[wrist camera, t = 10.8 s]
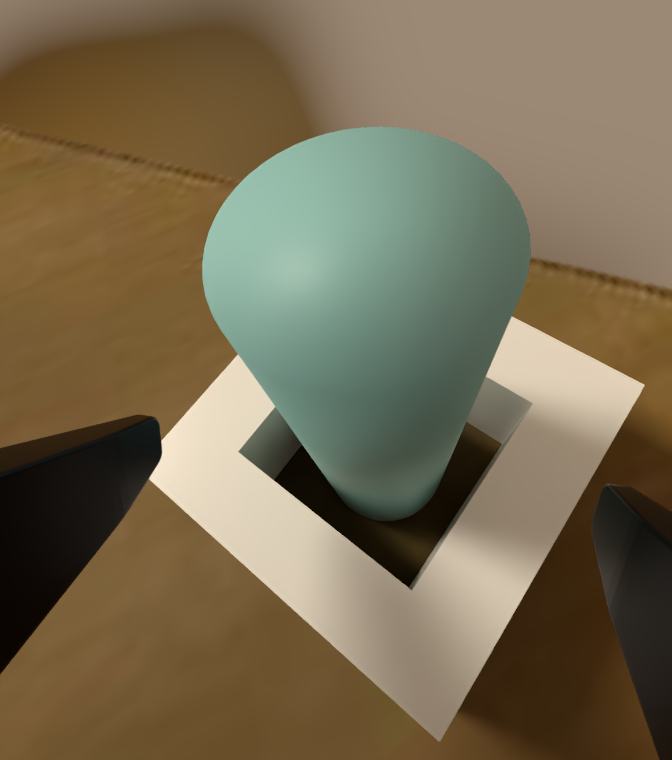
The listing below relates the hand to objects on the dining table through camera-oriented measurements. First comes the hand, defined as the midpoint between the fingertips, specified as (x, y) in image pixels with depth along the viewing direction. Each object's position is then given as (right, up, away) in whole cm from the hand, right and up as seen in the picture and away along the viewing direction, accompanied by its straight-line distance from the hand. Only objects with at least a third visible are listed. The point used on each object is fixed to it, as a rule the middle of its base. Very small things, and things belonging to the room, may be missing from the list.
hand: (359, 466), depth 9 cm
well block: (+1, -2, +9) cm, 9 cm away
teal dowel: (+1, -2, +9) cm, 9 cm away
